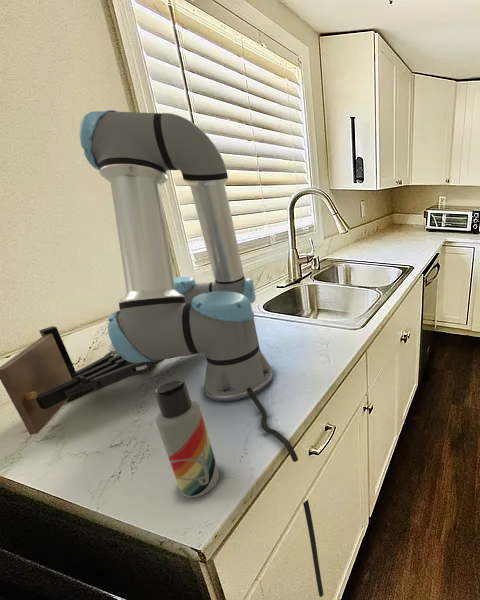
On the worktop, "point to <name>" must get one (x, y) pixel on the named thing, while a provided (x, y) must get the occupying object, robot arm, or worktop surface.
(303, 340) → the worktop surface
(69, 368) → the door post
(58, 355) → the door
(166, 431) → the lotion bottle
